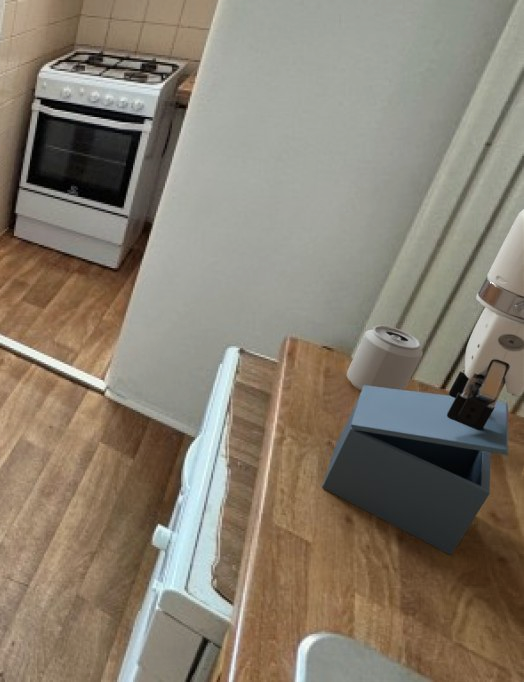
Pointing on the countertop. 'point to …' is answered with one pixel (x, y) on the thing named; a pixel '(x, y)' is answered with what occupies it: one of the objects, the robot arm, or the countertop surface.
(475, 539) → the countertop surface
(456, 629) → the countertop surface
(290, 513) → the countertop surface
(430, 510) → the compartment
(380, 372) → the can
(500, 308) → the robot arm
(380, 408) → the lid
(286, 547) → the countertop surface
